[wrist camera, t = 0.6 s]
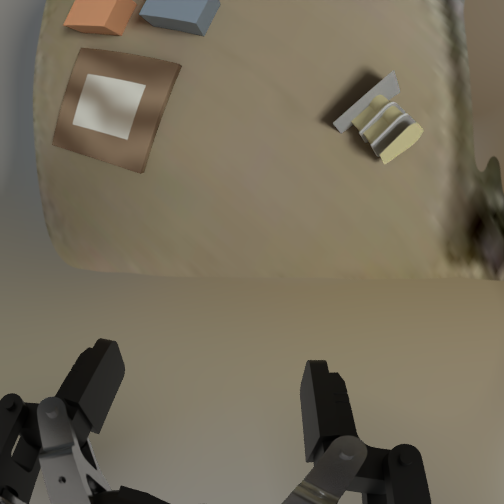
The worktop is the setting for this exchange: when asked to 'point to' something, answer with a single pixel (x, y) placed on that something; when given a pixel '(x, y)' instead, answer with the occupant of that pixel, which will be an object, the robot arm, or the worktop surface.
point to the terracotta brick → (100, 16)
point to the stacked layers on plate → (382, 120)
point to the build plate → (114, 106)
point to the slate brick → (181, 14)
